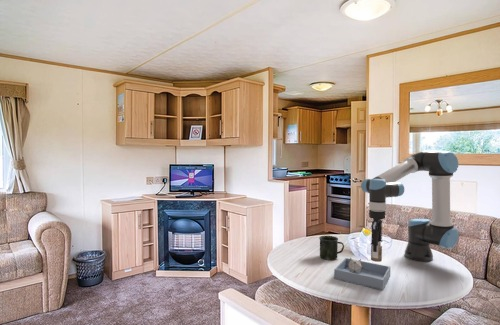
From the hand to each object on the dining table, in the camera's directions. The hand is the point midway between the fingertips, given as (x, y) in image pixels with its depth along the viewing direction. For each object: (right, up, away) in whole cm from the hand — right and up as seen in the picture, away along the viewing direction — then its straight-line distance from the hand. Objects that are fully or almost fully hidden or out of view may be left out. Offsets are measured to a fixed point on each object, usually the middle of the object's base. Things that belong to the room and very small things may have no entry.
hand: (376, 256), depth 155 cm
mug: (-14, -11, +33) cm, 37 cm away
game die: (-8, -12, +7) cm, 16 cm away
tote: (-5, -12, +4) cm, 14 cm away
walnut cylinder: (0, -2, 0) cm, 2 cm away
